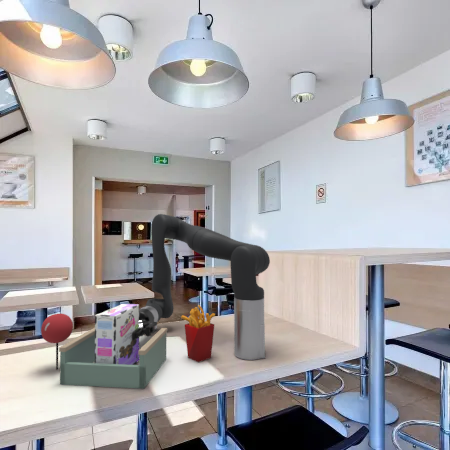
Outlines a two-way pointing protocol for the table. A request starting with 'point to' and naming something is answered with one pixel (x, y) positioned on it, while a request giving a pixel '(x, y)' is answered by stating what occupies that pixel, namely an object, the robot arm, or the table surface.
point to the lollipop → (56, 330)
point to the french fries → (199, 334)
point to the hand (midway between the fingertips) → (122, 336)
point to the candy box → (117, 335)
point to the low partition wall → (109, 373)
